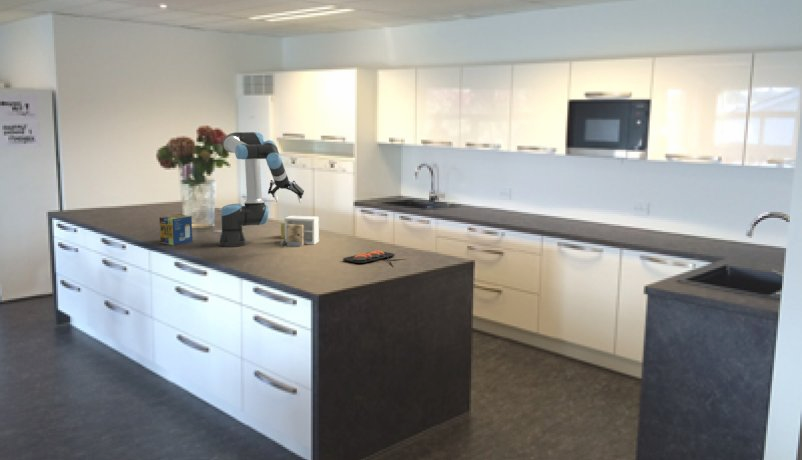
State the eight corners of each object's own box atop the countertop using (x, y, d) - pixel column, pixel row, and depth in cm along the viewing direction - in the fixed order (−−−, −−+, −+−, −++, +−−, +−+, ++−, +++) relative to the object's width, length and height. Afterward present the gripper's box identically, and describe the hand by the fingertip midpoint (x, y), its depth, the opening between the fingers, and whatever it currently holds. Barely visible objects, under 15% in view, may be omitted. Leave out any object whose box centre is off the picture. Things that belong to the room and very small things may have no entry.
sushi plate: (377, 253, 374) (377, 247, 373) (419, 261, 355) (419, 254, 354) (340, 262, 352) (340, 255, 351) (383, 271, 333) (383, 263, 332)
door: (286, 245, 391) (286, 225, 389) (289, 244, 395) (288, 224, 393) (301, 246, 389) (301, 226, 387) (303, 245, 394) (303, 224, 392)
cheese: (301, 236, 422) (300, 220, 420) (296, 239, 411) (296, 223, 410) (284, 235, 423) (284, 220, 421) (280, 238, 412) (279, 222, 411)
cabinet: (280, 245, 391) (280, 220, 388) (290, 240, 408) (289, 215, 405) (310, 246, 388) (310, 221, 385) (319, 241, 405) (318, 216, 403)
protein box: (160, 243, 392) (158, 217, 389) (180, 239, 405) (179, 214, 403) (173, 245, 387) (172, 218, 384) (193, 241, 400) (192, 215, 398)
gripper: (255, 181, 360) (266, 205, 377) (301, 182, 356) (309, 206, 374) (259, 170, 364) (269, 194, 382) (303, 171, 361) (312, 196, 378)
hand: (289, 200), depth 378 cm, fingers open, 13 cm apart
